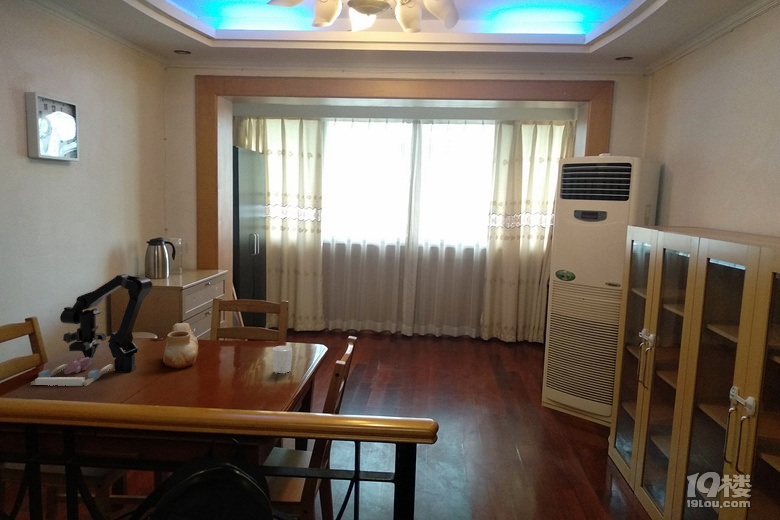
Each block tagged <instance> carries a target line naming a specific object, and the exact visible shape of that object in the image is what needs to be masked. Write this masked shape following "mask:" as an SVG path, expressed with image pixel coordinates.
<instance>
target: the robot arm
mask: <svg viewBox="0 0 780 520" xmlns="http://www.w3.org/2000/svg"><path fill="white" fill-rule="evenodd" d="M121 287H122V288H123V289H126V290H127V294H128V296H129V298H128V299H129V300H128V302H127V304H126V308H125V310H124V313H123V316H122V319H121V322H120V324H119V328H118V330H117V331H113V332H111V333H110V336H109V339H108V341H107V342H108V348H109V350H110V353H111V356H112V358H115V359H113V360H114V362H113V368H114V370H113V373H131V372H132V371H134V370H135V369H136V368H137V366H135V365H136V360H135V359H136V358H135V357H136V355H135V354H137V353H138V350H139V347H138V346H137V345H136V344H135V342H134V341H133V340H134V335H133V329H134V326H135V323H136V320H137V317H138V314H139V312H140V309H141V307H142V303H143V301H144V300H145V299H146V298H147V296H148V295H149V294H150V292H151V290H152V289H153V283H152V281H151V279H150V278H149V277H139V276H134V275H129V274H125V273H124V274H118V275H116V276H115V277H114V278H112V279H111V280H109V281H108V282H106V283H104V284H102V285H101V286H100V287H97V289H95V290H93V291H90V292H87V293H84V294H82V295H79V296H77V297H76V300H75V301H76V302H75V303H74V305H73V306H66V307H63V311H62V312H61V314H60V316H59V320H60V322H61V323H63V324H69V325H79V327H78V328H77V329H76V331H74V332H67V333H64V334H63V338H62V341H64V343H65V342H66V344H69V345H68V351H69V352H81V353H82V354H83V357H88V358H91V359H93V358H94V356H95V355H96V352H97V349H98V348H99V346H100V343H98V342H97V340H101V342H104V341H106V340H107V335H106V334H105V333H104V332H97V330H98V329H99V326H98V325H97V322H96V321H97V315H100V314H101V310H99V309H97V308H96V307H97V306H99V304H100V303H102V301H103V299H104V298H106V297H107V296H108V295H110V294H112V293H114V292H115V291H117V290H118V289H120V288H121ZM71 342H72V343H71Z"/></svg>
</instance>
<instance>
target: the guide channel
mask: <svg viewBox="0 0 780 520" xmlns="http://www.w3.org/2000/svg"><path fill="white" fill-rule="evenodd" d="M66 367H69V364H68V363H64V364H62V365H59V366H57V367H56V368H54V369H52V370H51V369H44V370H42V371H39V372H38V377H37V378H35V379H34V380H33V381H31V382H30V386H31V385H48V386H47V387H49V385H50V386H51V387H52V386H53V385H54V387H55V385H58V386H59V387H60V386H61V387H62V386H63V387H65V385H66V386H67V387H68V386H69V387H73V386H75V387H76V386H79V387H80V386H83V385H84V387H86V386H87V387H88V385H90V384H91V383H93V382H95V381H96V380H97V379H99V378H100V377H102V374H103V375H104V374H105V373H106V371H107V372H108V371H110V370H111V369H113V368H114V363H113V364H112V363H110V364H107V365H105V366H104V367H103V368H101V369H92V370H90V371H89V372H88V373H87V375H88V376H87V379H86V377H85V376H84V377H83V376H75V377H73V376H72V377H71V376H70V377H69V376H67V377H65V376H63V377H61V376H60V377H57V376H55V375H57V374H58V373H60V372H62V371H64V370H65V369H66ZM63 369H64V370H63ZM109 369H110V370H109ZM61 370H62V371H61ZM56 373H57V374H56ZM51 376H52V377H51ZM54 376H55V377H54Z"/></svg>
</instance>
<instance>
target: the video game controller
mask: <svg viewBox="0 0 780 520" xmlns="http://www.w3.org/2000/svg"><path fill="white" fill-rule="evenodd" d="M93 362H94V359H93V358H92V359H91V358H88V357H85V356H83V357H79V358H78V359H77V360H76V359H75V360H74V361H73V362H71V363H70V365H68V367H67V368H65V369H64V370H63V373H64V374H65V375H70V374H71V373H73V372H74V373H75V374H78V372H81V371H83V370H84V371H86V370H87V368H88V367H90V366H91V365H92V364H93Z"/></svg>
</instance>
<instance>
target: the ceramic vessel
mask: <svg viewBox="0 0 780 520" xmlns="http://www.w3.org/2000/svg"><path fill="white" fill-rule="evenodd" d="M166 340H167V341H166V343H165V348H164V350H163V357H162V358H163V359H162V362H163V363H164V366H165V367H168V368H173V369H179V368H180V369H184V367H185V368H186V366H187V367H189V366H193V365H195V363H196V359H197V356H198V355H199V354H198V353H199V342H198V341H199V340H198V338H197V337H196V336H195V334H194V332H193V330H192V329H191V325H190V324H189V323H188V322H182V323H175V324H174V325H173V326H172V331H171V332H169V333H168V334H167V339H166Z"/></svg>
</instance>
